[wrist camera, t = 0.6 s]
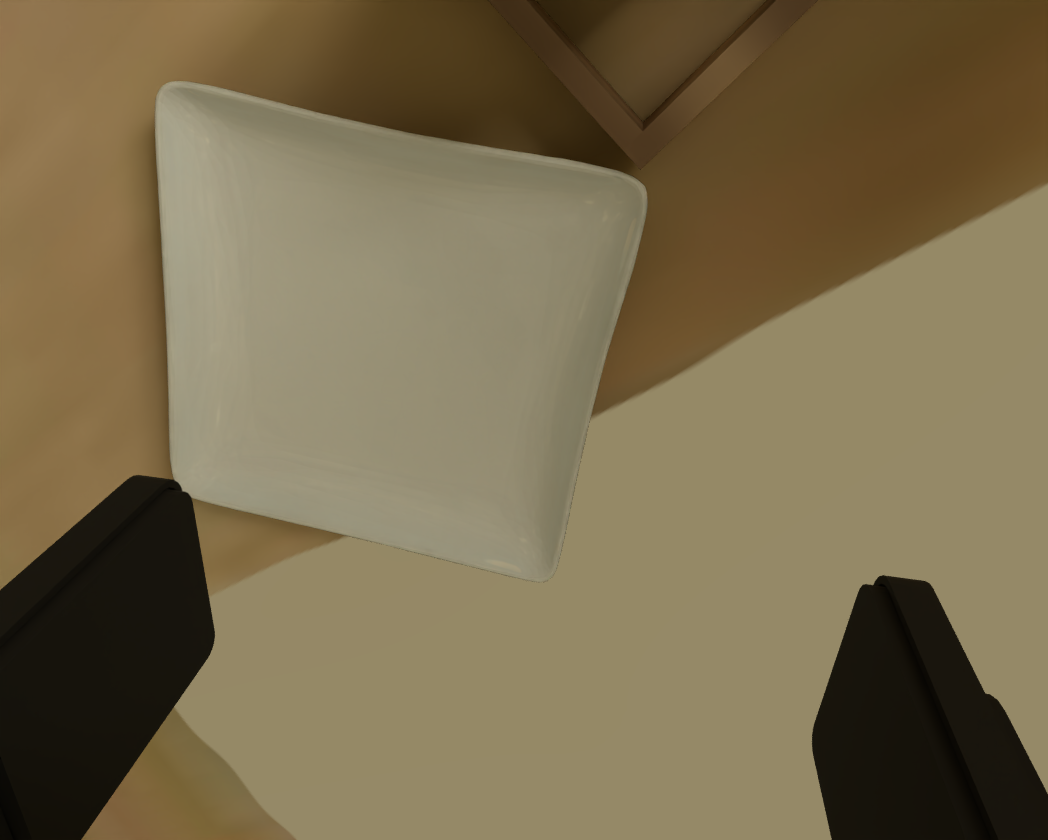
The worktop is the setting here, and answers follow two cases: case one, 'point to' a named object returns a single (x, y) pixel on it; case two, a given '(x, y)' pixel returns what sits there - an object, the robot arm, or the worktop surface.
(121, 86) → the worktop surface
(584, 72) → the parts tray
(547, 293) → the salad plate
